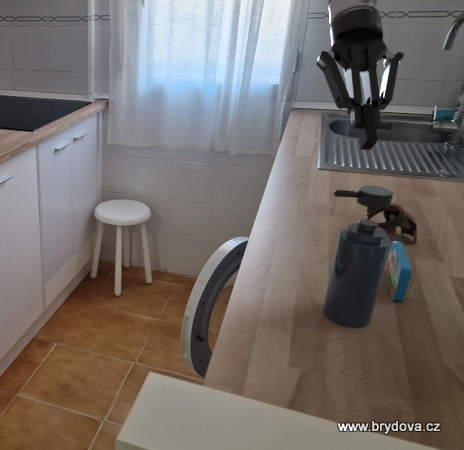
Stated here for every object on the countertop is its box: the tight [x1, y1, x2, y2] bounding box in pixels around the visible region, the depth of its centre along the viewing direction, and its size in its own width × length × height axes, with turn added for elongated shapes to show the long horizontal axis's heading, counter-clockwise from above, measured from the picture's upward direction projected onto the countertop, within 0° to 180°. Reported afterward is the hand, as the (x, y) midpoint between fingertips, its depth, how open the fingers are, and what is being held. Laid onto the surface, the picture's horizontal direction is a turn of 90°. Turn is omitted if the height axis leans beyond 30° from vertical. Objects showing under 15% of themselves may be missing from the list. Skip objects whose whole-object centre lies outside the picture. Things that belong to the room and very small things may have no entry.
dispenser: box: [322, 218, 392, 329], centre depth 84 cm, size 7×7×16 cm
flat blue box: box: [384, 240, 413, 303], centre depth 95 cm, size 12×2×6 cm, turn 157°
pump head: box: [333, 185, 394, 213], centre depth 80 cm, size 8×4×3 cm, turn 81°
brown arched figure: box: [366, 202, 418, 245], centre depth 115 cm, size 12×10×8 cm
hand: (368, 145), depth 82 cm, fingers closed
